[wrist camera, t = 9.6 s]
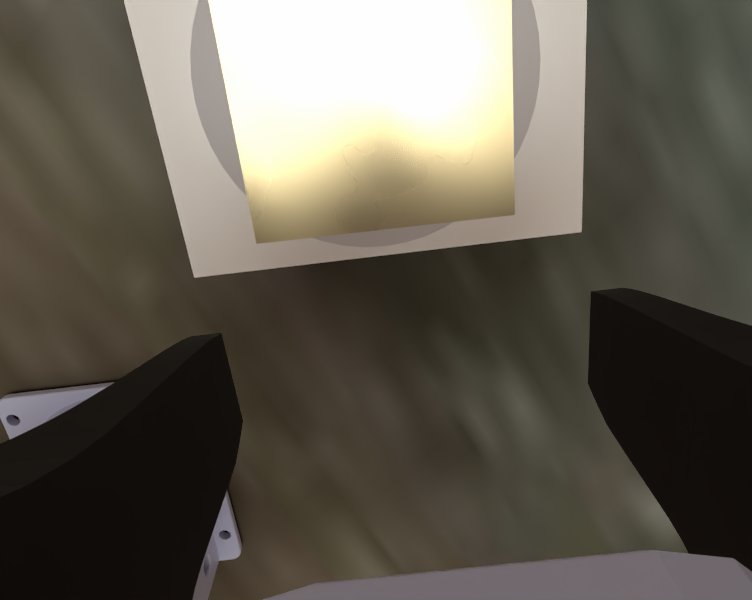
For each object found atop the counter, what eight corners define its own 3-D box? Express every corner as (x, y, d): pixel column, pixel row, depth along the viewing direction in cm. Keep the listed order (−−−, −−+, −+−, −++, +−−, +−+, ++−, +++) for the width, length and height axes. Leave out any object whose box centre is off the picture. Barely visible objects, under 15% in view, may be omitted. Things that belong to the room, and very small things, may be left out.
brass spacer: (458, 157, 18) (515, 214, 11) (294, 175, 18) (256, 244, 11) (447, -31, 16) (509, -93, 9) (264, -9, 16) (197, -55, 9)
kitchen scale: (562, 216, 21) (621, 263, 16) (208, 258, 21) (164, 316, 17) (567, -337, 15) (661, -518, 10) (81, -270, 16) (-43, -416, 11)
